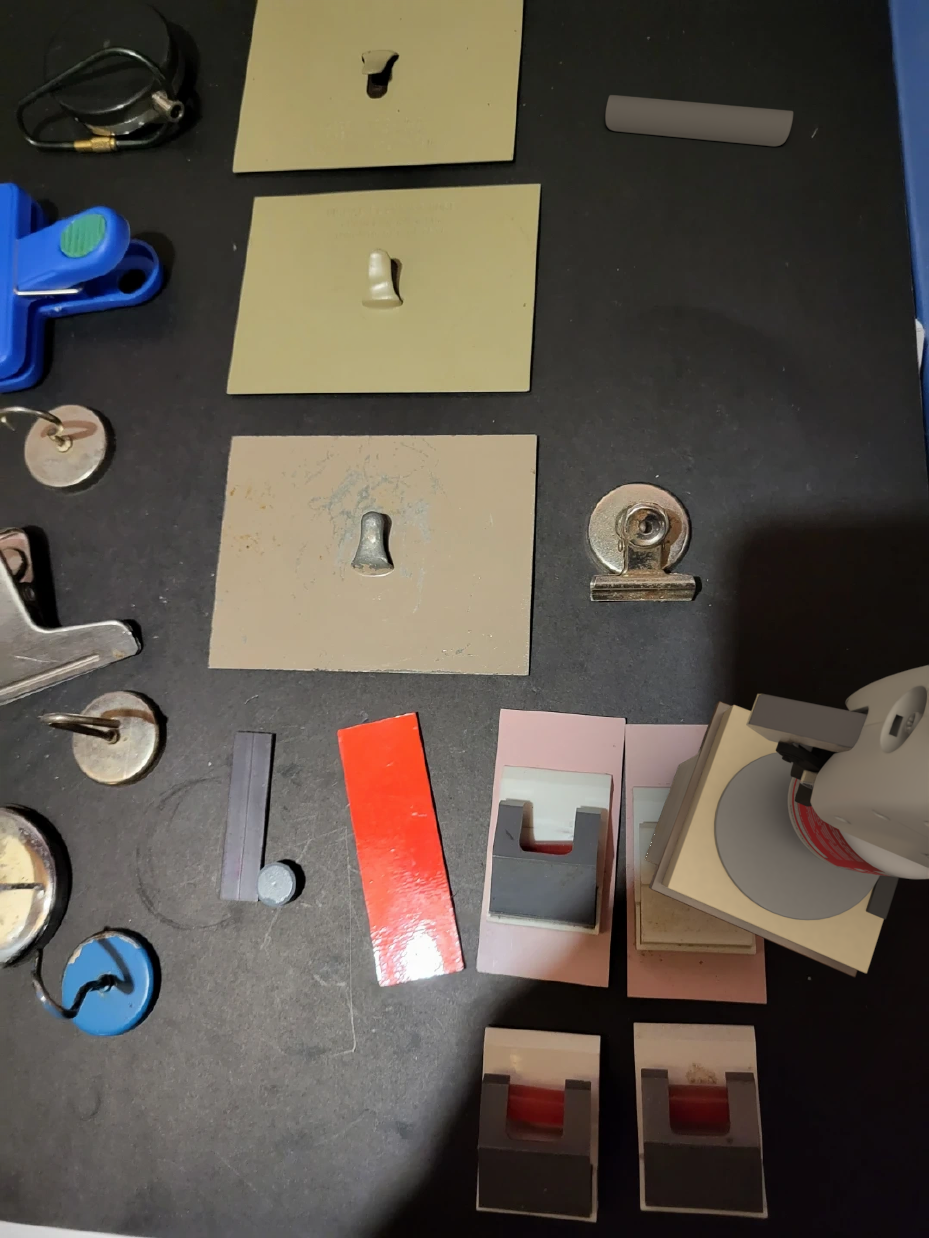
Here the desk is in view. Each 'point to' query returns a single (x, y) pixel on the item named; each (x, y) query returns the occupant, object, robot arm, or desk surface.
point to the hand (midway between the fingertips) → (893, 802)
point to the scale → (770, 855)
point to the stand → (671, 830)
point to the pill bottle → (846, 845)
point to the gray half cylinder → (698, 120)
